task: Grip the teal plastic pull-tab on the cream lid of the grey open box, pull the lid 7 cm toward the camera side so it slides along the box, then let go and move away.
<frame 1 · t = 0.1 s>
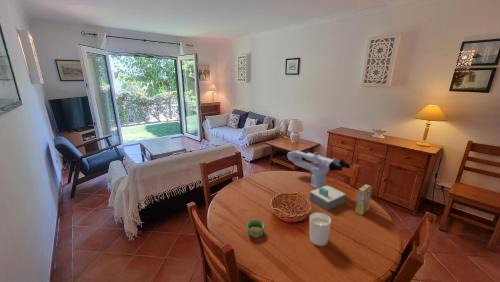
hand: (345, 167, 133), 22 cm above the table, tool horizontal, fingers open, 7 cm apart
candy box: (362, 211, 126), on the table
ramekin: (255, 232, 111), on the table
grey open box: (326, 201, 137), on the table
candle holder: (318, 239, 105), on the table
lid: (327, 190, 135), point 7 cm above the table, slide at 0.0 cm
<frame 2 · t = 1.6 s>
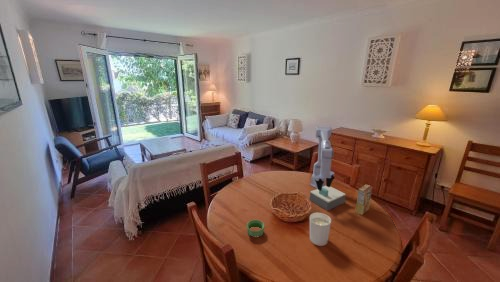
hand: (323, 188, 132), 10 cm above the table, tool pointing down, fingers open, 7 cm apart
nothing on the table moved.
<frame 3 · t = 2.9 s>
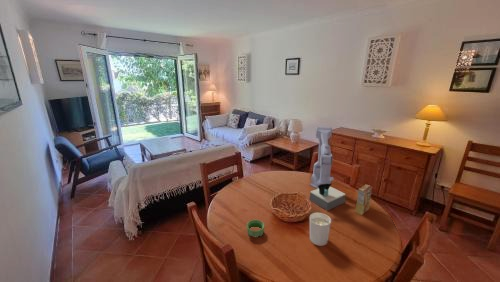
hand: (323, 193, 133), 7 cm above the table, tool pointing down, fingers closed on lid, 2 cm apart
lid: (327, 190, 135), point 7 cm above the table, slide at 0.0 cm, touching gripper
everything else where it was.
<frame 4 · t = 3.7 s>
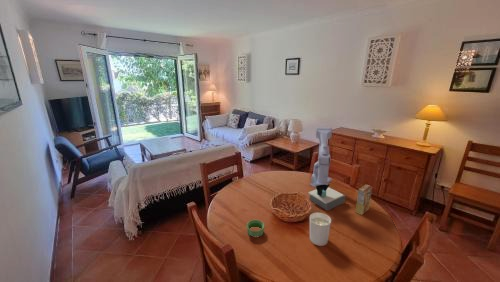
hand: (321, 194, 132), 7 cm above the table, tool pointing down, fingers closed on lid, 2 cm apart
lid: (325, 191, 134), point 8 cm above the table, slide at 1.9 cm, touching gripper
everything else where it was.
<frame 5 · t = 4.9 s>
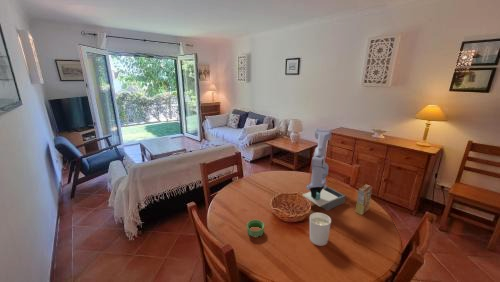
hand: (315, 196, 130), 7 cm above the table, tool pointing down, fingers closed on lid, 2 cm apart
lid: (320, 193, 131), point 7 cm above the table, slide at 7.0 cm, touching gripper
everything else where it was.
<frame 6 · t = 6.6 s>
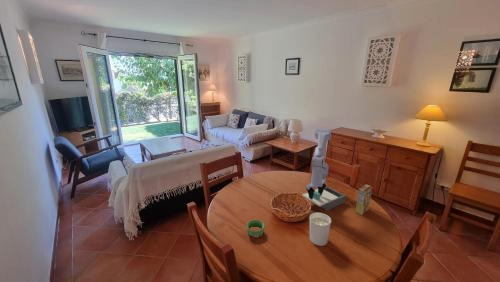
hand: (315, 196, 130), 7 cm above the table, tool pointing down, fingers open, 7 cm apart
lid: (320, 193, 131), point 8 cm above the table, slide at 7.0 cm
everything else where it was.
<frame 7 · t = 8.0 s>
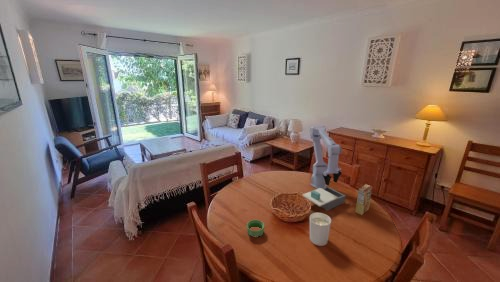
hand: (331, 183, 138), 10 cm above the table, tool pointing down, fingers open, 7 cm apart
nothing on the table moved.
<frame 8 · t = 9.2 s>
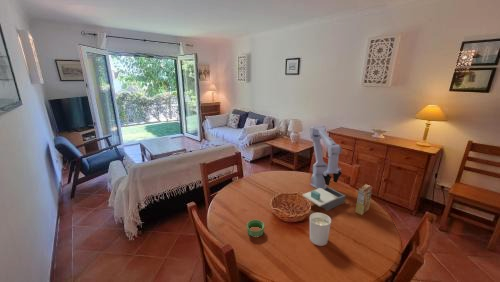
hand: (331, 183, 138), 10 cm above the table, tool pointing down, fingers open, 7 cm apart
nothing on the table moved.
at the end: lid slide at 7.0 cm; the gripper is holding nothing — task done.
